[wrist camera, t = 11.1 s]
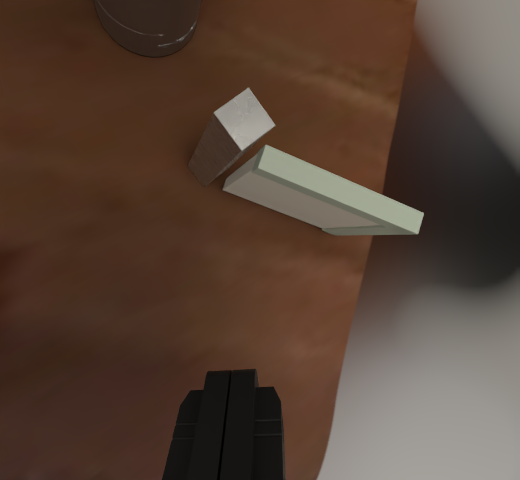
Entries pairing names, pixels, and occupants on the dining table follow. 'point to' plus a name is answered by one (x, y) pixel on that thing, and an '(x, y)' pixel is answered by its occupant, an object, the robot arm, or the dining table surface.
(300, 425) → the dining table surface
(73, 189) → the dining table surface
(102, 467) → the dining table surface
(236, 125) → the post
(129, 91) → the dining table surface
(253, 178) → the beige and green panel
